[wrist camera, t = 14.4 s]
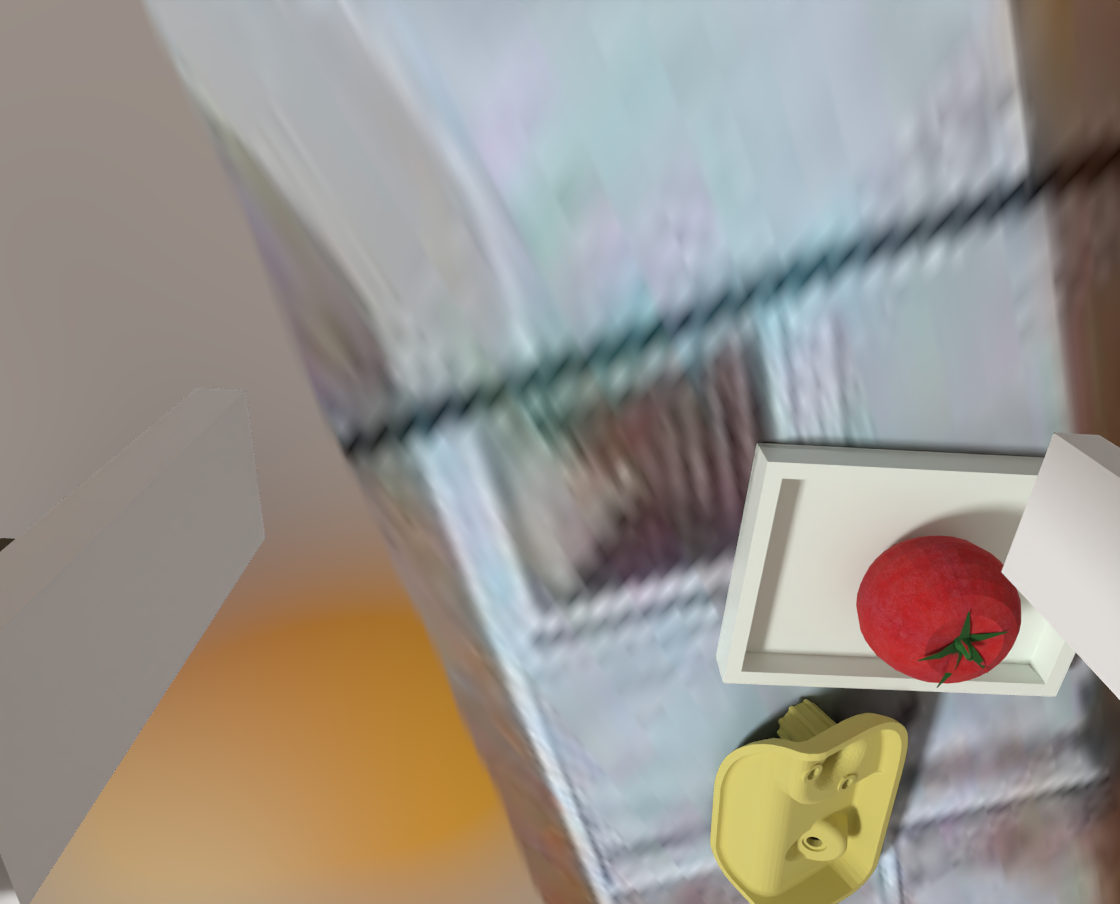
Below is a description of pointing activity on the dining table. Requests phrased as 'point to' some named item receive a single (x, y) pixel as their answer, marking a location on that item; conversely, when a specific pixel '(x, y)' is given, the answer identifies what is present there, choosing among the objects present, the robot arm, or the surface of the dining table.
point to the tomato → (938, 609)
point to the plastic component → (807, 806)
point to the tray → (866, 562)
